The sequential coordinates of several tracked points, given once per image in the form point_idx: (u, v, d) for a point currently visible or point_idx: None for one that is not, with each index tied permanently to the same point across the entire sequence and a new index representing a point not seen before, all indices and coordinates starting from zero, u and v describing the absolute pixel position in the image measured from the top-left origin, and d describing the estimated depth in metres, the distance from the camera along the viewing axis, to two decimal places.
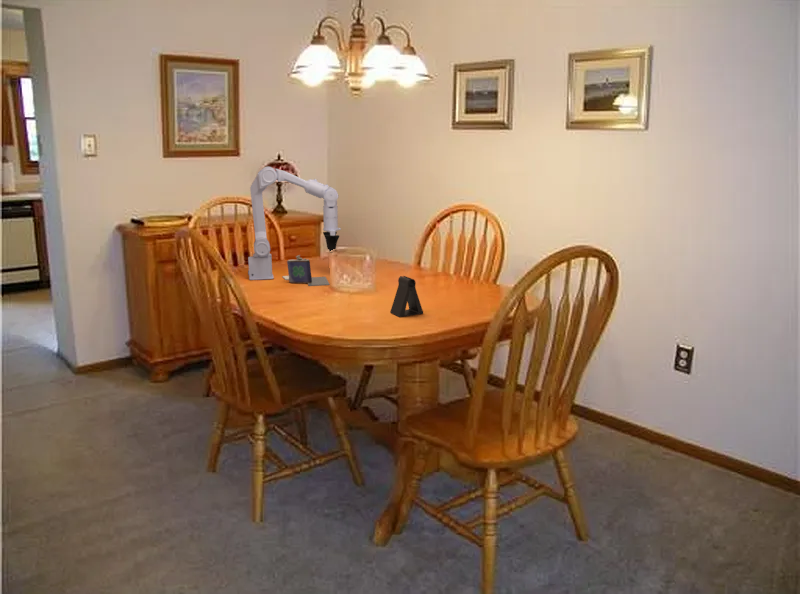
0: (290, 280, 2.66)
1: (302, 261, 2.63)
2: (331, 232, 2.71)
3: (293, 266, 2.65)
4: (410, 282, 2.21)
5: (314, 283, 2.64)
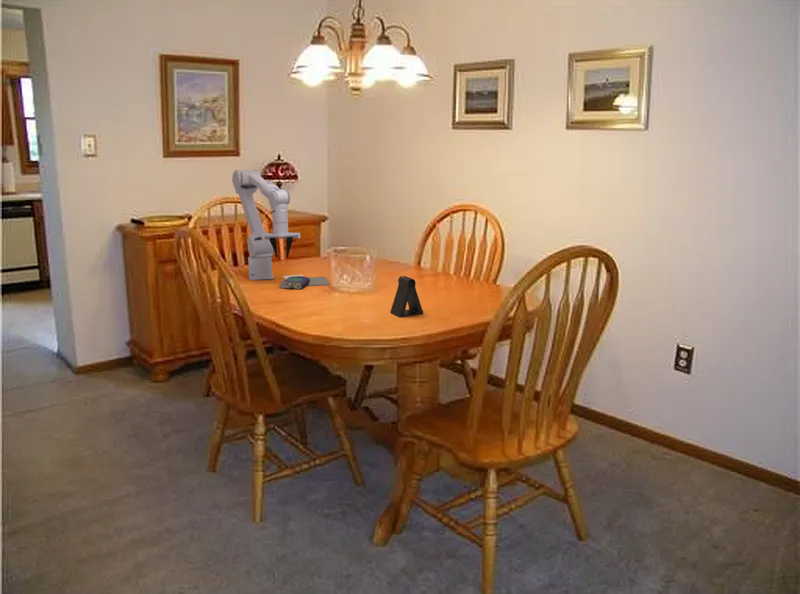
0: None
1: (296, 288, 2.57)
2: (261, 235, 2.60)
3: None
4: (410, 282, 2.21)
5: (314, 283, 2.64)
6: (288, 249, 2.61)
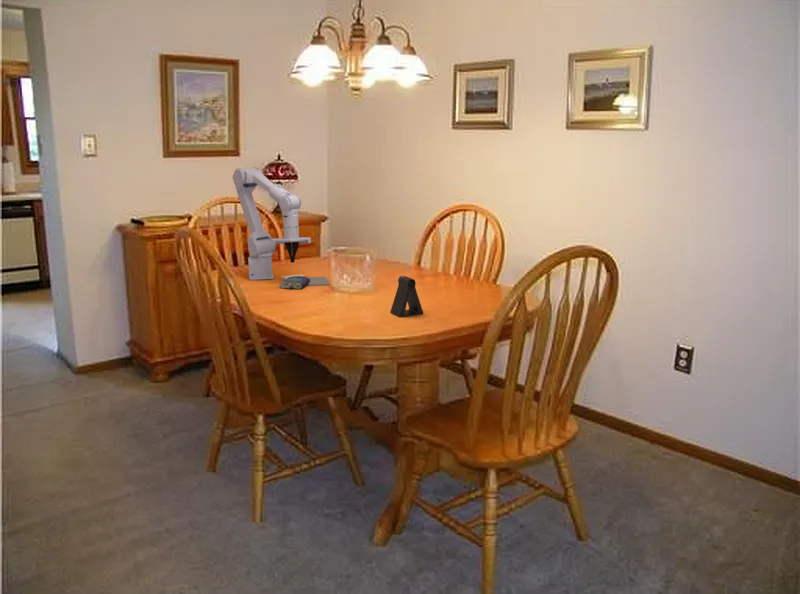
0: None
1: (296, 288, 2.57)
2: (272, 240, 2.61)
3: None
4: (410, 282, 2.21)
5: (314, 283, 2.64)
6: (294, 254, 2.62)
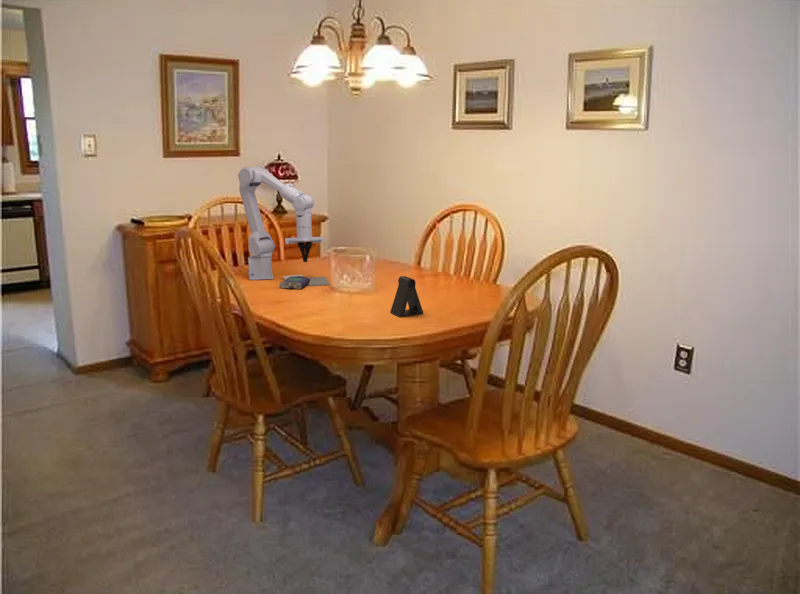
0: None
1: (296, 288, 2.57)
2: (285, 240, 2.62)
3: None
4: (410, 282, 2.21)
5: (314, 283, 2.64)
6: (307, 253, 2.63)
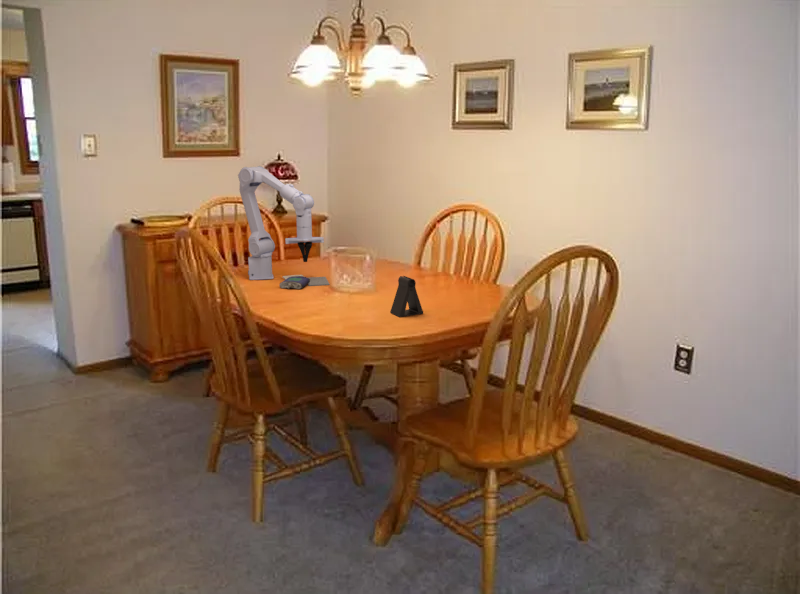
0: None
1: (296, 288, 2.57)
2: (285, 240, 2.62)
3: None
4: (410, 282, 2.21)
5: (314, 283, 2.64)
6: (307, 253, 2.63)
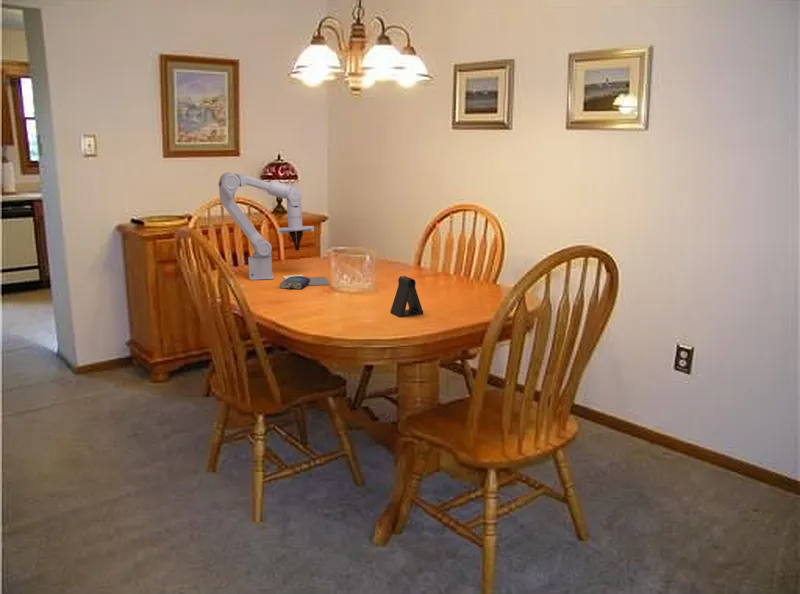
0: None
1: (296, 288, 2.57)
2: None
3: None
4: (410, 282, 2.21)
5: (314, 283, 2.64)
6: (298, 242, 2.77)
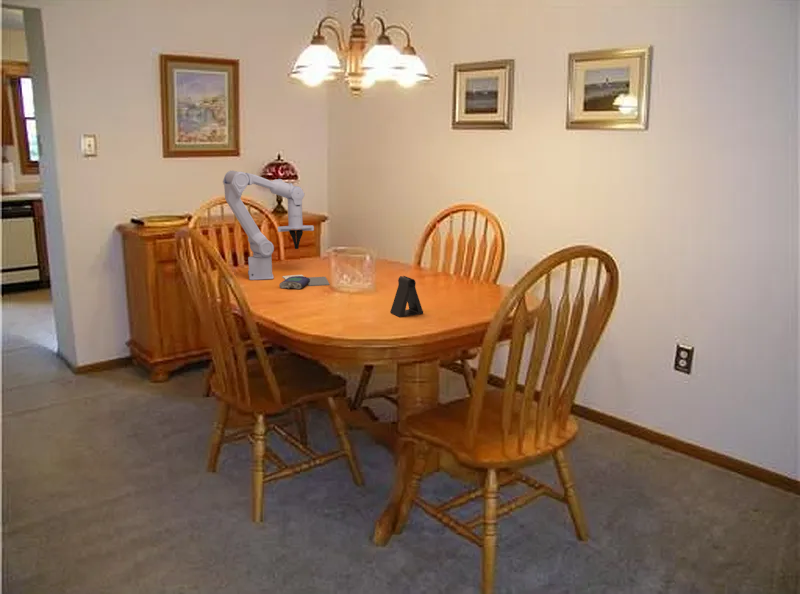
0: None
1: (296, 288, 2.57)
2: None
3: None
4: (410, 282, 2.21)
5: (314, 283, 2.64)
6: (298, 241, 2.80)
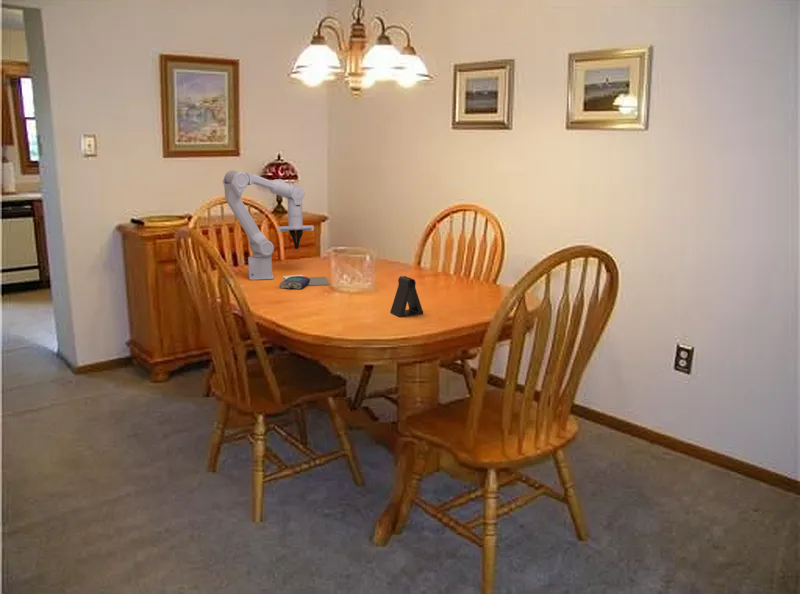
0: None
1: (296, 288, 2.57)
2: None
3: None
4: (410, 282, 2.21)
5: (314, 283, 2.64)
6: (298, 241, 2.80)
